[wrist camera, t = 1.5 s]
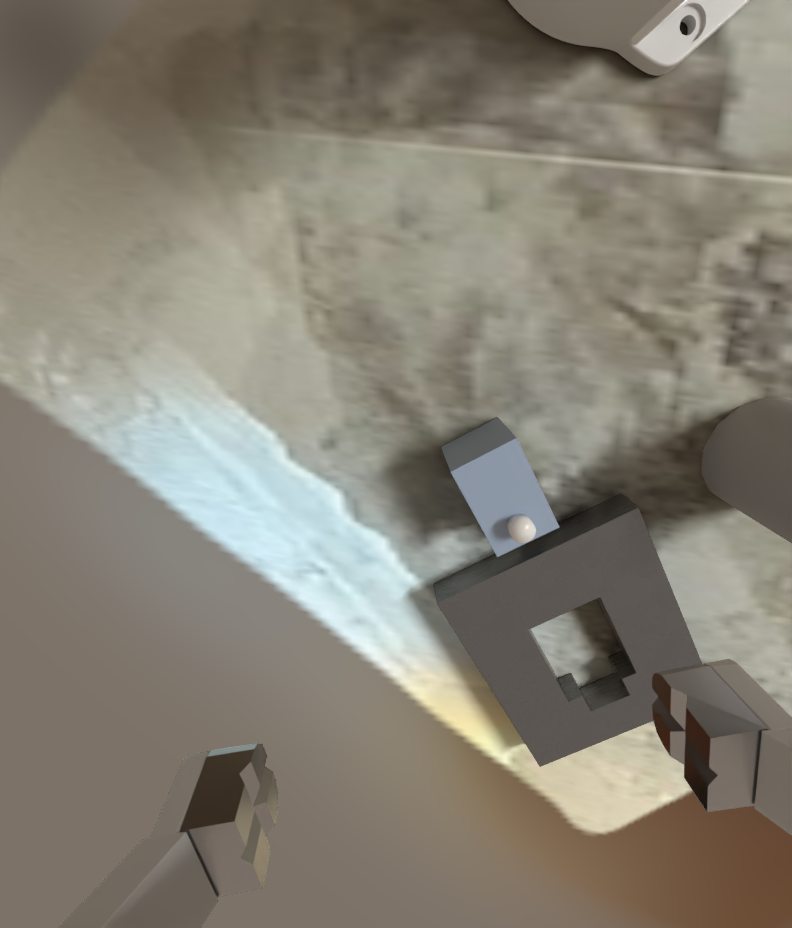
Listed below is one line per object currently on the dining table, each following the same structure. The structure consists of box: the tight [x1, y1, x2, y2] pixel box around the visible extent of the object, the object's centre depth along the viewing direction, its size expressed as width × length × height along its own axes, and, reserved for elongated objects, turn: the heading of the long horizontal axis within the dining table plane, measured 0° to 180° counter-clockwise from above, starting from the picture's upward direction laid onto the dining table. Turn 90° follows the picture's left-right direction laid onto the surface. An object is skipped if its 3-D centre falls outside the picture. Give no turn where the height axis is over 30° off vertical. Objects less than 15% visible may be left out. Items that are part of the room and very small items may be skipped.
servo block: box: [441, 417, 559, 557], centre depth 33 cm, size 4×8×6 cm, turn 29°
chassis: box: [434, 493, 702, 767], centre depth 39 cm, size 16×20×2 cm
